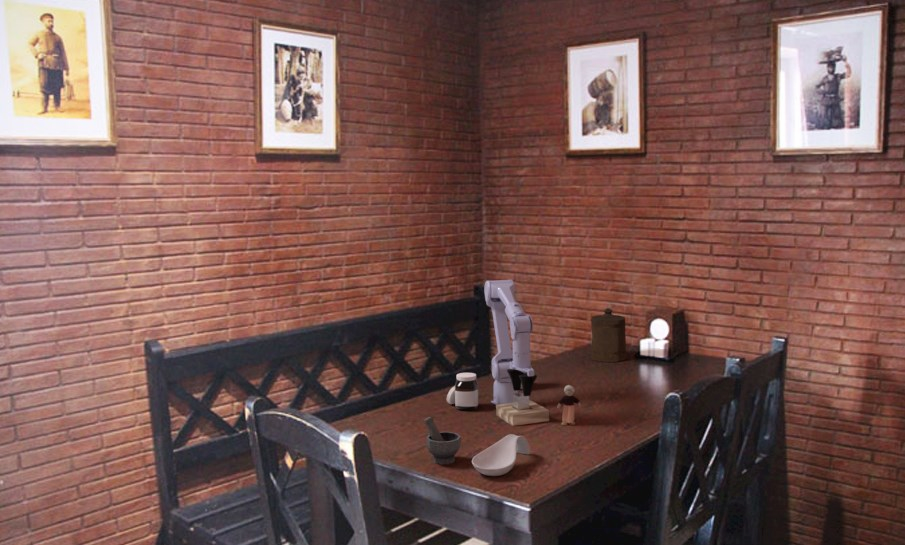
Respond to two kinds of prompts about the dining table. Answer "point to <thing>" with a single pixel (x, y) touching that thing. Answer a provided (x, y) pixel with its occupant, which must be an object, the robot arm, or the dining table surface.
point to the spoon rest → (501, 455)
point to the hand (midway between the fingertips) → (521, 393)
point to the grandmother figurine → (568, 405)
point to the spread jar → (464, 392)
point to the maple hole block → (522, 414)
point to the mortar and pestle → (441, 443)
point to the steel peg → (520, 402)
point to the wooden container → (608, 337)
